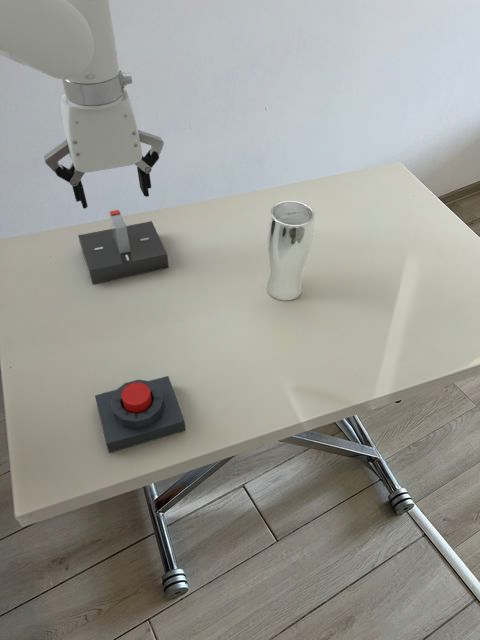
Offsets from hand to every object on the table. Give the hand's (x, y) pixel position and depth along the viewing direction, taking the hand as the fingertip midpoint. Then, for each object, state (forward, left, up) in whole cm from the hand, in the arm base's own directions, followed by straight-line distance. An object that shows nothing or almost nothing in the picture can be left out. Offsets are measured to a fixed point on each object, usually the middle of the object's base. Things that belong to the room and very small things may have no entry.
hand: (114, 197), depth 84 cm
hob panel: (0, 0, -12) cm, 12 cm away
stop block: (-20, -28, -12) cm, 36 cm away
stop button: (-20, -28, -8) cm, 35 cm away
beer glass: (+14, -25, -12) cm, 31 cm away
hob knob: (0, 0, -9) cm, 9 cm away
